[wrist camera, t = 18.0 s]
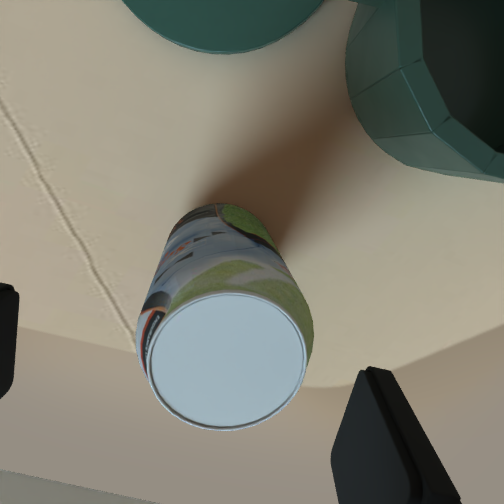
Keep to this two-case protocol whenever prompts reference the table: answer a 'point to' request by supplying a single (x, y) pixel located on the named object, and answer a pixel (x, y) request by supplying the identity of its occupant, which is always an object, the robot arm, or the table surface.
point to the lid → (223, 22)
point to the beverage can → (223, 323)
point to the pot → (431, 82)
